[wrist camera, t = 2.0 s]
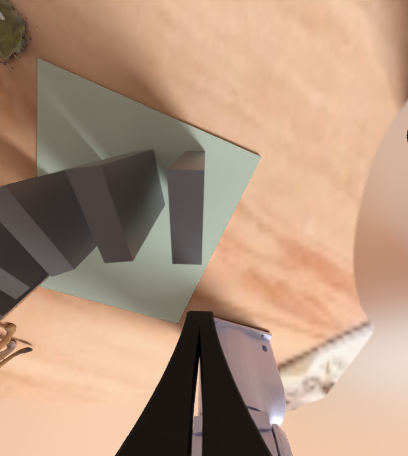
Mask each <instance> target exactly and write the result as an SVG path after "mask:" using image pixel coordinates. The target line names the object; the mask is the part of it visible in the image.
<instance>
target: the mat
mask: <svg viewBox="0 0 408 456" xmlns="http://www.w3.org/2000/svg"><path fill="white" fill-rule="evenodd" d="M150 149H153V150H154V155H155V159H156V164H157V169H158V173H159V178H160V183H161V187H162V192H163V197H164V201H165V206H164V208H163V210H162V211H161V213H160V215H159V217H158V218H157V220H156V222H155V224H154V225H153V227H152V229H151V231H150V232H149V234H148V236H147V238H146V239H145V241H144V243H143V245H142V246H141V248H140V250H139V252H138V253H137V255H136V257H135V259H134V260H133V261H128V262H116V263H104V261H103V258H102V256H101V254H100V251H99V249H98V247H96V248H95V249H94V250H93V251H92V252H91V253H90V254H89V255H88V256H87V257H86V258H85V259H84V260H83V261H82V262H81V263H80V264H79V265H78V266H77V267H76V268H75V269H74V270H71V271H68V272H65V273H62V274H59V275H56V276H53V277H51V276H50V277H49V278H48V279H46V280H45V281H44V282H43V283H42V284H41V285H40V287H43V288H47V289H51V290H54V291H58V292H62V293H65V294H69V295H73V296H77V297H80V298H84V299H88V300H91V301H95V302H99V303H103V304H106V305H110V306H114V307H117V308H121V309H125V310H129V311H132V312H136V313H140V314H143V315H147V316H151V317H154V318H158V319H162V320H166V321H169V322H173V323H177V324H178V322H179V320H180V318H181V316H182V314H183V312H184V310H185V308H186V306H187V304H188V302H189V300H190V298H191V296H192V294H193V292H194V290H195V288H196V286H197V284H198V282H199V280H200V278H201V276H202V274H203V272H204V270H205V268H206V266H207V264H208V262H209V260H210V258H211V256H212V254H213V252H214V250H215V248H216V246H217V244H218V242H219V240H220V238H221V236H222V234H223V232H224V230H225V228H226V226H227V224H228V222H229V220H230V218H231V216H232V214H233V212H234V210H235V208H236V206H237V204H238V202H239V200H240V198H241V196H242V194H243V192H244V190H245V188H246V186H247V184H248V182H249V180H250V178H251V176H252V174H253V172H254V170H255V168H256V166H257V164H258V162H259V160H260V158H261V157H260V156H258V155H256V154H254V153H251V152H249V151H247V150H245V149H242V148H240V147H238V146H236V145H233V144H231V143H229V142H227V141H224V140H222V139H220V138H218V137H215V136H213V135H211V134H209V133H206V132H204V131H202V130H199V129H197V128H195V127H193V126H190V125H188V124H186V123H184V122H181V121H179V120H177V119H175V118H172V117H170V116H168V115H166V114H163V113H161V112H159V111H157V110H154V109H152V108H150V107H148V106H145V105H143V104H141V103H139V102H136V101H134V100H132V99H130V98H127V97H125V96H123V95H121V94H118V93H116V92H114V91H112V90H109V89H107V88H105V87H103V86H100V85H98V84H96V83H93V82H91V81H89V80H87V79H84V78H82V77H80V76H78V75H75V74H73V73H71V72H69V71H66V70H64V69H62V68H60V67H57V66H55V65H53V64H51V63H48V62H46V61H44V60H42V59H39V58H37V177H39V176H43V175H46V174H50V173H54V172H58V171H62V170H65V169H69V168H73V167H77V166H81V165H84V164H88V163H92V162H96V161H100V160H104V159H108V158H111V157H115V156H119V155H123V154H127V153H131V152H135V151H142V150H150ZM186 151H201V152H205V180H204V214H203V242H202V265H190V264H172V251H171V233H170V216H169V198H168V181H167V168H169V167H170V166H171V165H172V164H173V163H174V162H175V161H176V160H177V159H178V158H179V157H181V156H182V155H183V154H184V153H185V152H186Z"/></svg>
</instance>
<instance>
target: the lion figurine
mask: <svg viewBox="0 0 408 456" xmlns="http://www.w3.org/2000/svg"><path fill="white" fill-rule="evenodd" d="M5 330H6V331H7V334H6V336H5V337H4V338H3V339H2V340H1V341H0V350H1V349H2V348H3V347H4V346H6V345H7V346H8V348H7V349H6V350H4V351H2V352H0V360H2V359H4V358H5V357H6V356H7V355H8V354H10V353H11V352H12V351H13V350H14V349H15V347H16V346H17V344H16V342H14V341H12V340H11V338H12V336H13V334H14V332H15V331H16V327H15V325H13V324H9V325H7V326H6V327H5ZM32 350H33V349H31V348H30V347H27V348H23V349H20V350H19V351H17V352H15V353H13V354H12V355H10V356H9V357H7V358H6V359H4V360H3V361H2V362H0V368H1V367H2V366H3V365H4V364H6V363H7V362H8V361H9V360H11V359H12V358H13V357H15V356H17V355H19V354H21V353H27V352H30V351H32Z"/></svg>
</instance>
